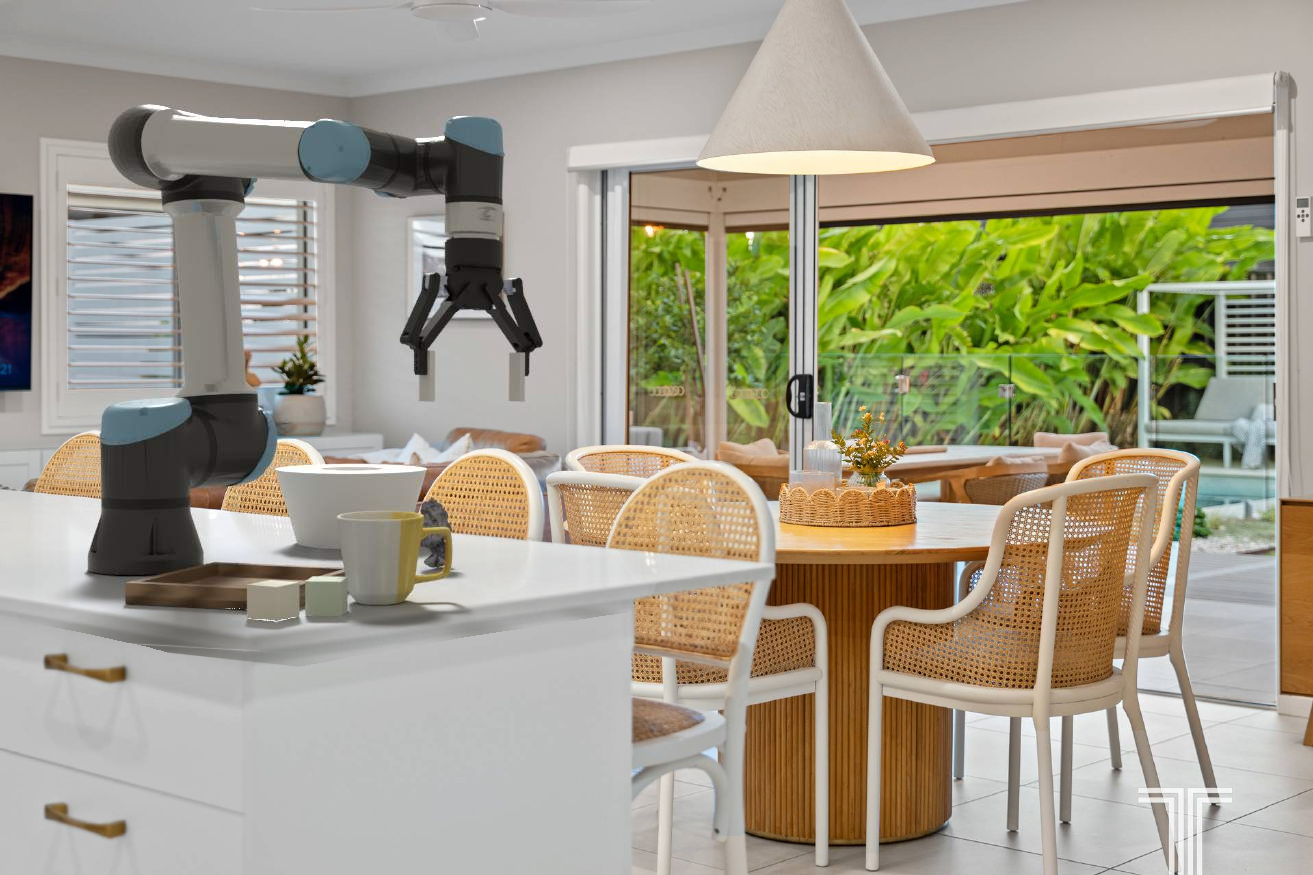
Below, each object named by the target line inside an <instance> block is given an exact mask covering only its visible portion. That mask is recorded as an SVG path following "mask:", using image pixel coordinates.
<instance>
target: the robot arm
mask: <svg viewBox="0 0 1313 875" xmlns="http://www.w3.org/2000/svg"><path fill="white" fill-rule="evenodd" d="M444 127H445V128H444V132H443V134H444V135H441V136H436V137H422V138H421V137H420V138H411V137H407V136H402V135H399V134H394V133H391V132H385V131H382V130H376V129H373V128H368V127H365V126H361V125H357V124H353V123H351V122H350V121H348V120H339V119H330V118H329V119H328V118H322V119H319V120H317V121H314V122H313V121H312V122H311V121H290V120H285V121H284V120H267V119H265V120H263V119H238V118H219V117H216V116H213V115H209V116H208V115H202V114H198V113H192V112H189V111H184V110H179V109H174V108H169V107H166V106H161V105H156V104H141V105H135V106H134V107H130V108H128V109H126V110H124V111H123V112H121V114H119V115H118V117H117V116H116V118H115V120H114V122H112V125H111V127H110V129H109V131H108V132H109V133H108V137H107V150H108V154H109V157H110V160H111V162H112V164H113V165H114V167H115V169H116V170H117V171H118V172H119V173H120V175H122V176H123V177H124V178H125V179H127V180H128V181H129V182H131V183H133V184H135V185H138V186H140V187H143V188H147V189H152V190H156V191H160V194H161V195H160V196H161V209H162V211H163V212H164V213H165V214H167V215H168V216H169V217H170V218H172V220H173V225H174V238H175V239H174V240H175V253H176V254H175V255H176V269H177V270H176V271H177V284H178V286H177V288H178V300H179V312H180V313H179V315H180V326H181V327H180V328H181V331H180V332H181V344H182V357H183V358H182V359H183V374H184V385H183V387H181V389H180V390H179V391H178V392H177V393H176V395H174V397H154V398H148V399H144V398H142V399H135V400H128V401H122V402H121V401H120V402H117V403H114V404H111V405H109V406H108V407H106V408H105V409H104V411H103V412H102V416H101V422H100V423H101V425H100V426H101V428H100V433H99V442H100V479H101V480H100V491H101V492H100V494H101V496H100V499H101V501H100V502H101V503H100V504H101V505H100V509H101V510H100V517H99V520H98V523H97V526H96V529H95V532H94V534H93V537H92V540H91V543H90V544H91V545H90V547H89V550H88V553H87V571H89V572H92V573H96V574H97V573H98V574H104V575H105V574H107V575H119V576H120V575H124V576H126V575H127V576H128V575H131V576H132V575H133V576H135V575H136V576H137V575H138V576H141V575H161V574H165V573H169V572H174V571H178V570H182V569H187V568H191V567H195V566H199V565H204V564H205V563H204V562H205V558H204V554H205V552H204V549H203V546H202V542H201V539H200V536H199V533H198V530H197V528H196V524H195V521H194V519H193V515H192V512H191V489H202V488H205V489H206V488H217V487H218V488H219V487H223V488H227V487H237V486H239V485H243V484H248V483H251V482H253V481H256V480H257V479H259V478H261V476H262V475H264V473H265V472H266V470H267V469H268V468H270V466H271V465H272V463H273V460H274V458H275V456H276V452H277V448H278V430H277V427H276V424H275V421H274V420H273V418H271V417H270V414H269V413H268V411H266V410H265V409H263V408H261V407H260V406H259V396H258V391H257V390H256V389H254V388H253V387H252V386H251V385H250V384H249V383H248V381H247V376H246V375H247V374H246V364H245V362H246V361H245V360H246V359H245V358H246V357H245V348H244V347H245V344H244V331H243V315H242V300H241V285H240V270H239V256H238V241H237V239H238V238H237V229H236V228H237V224H236V220H237V218H238V216H239V215H240V214H241V213H242V212H243V211H244V210H245V209H246V205H245V204H246V203H245V200H246V198H247V197H248V196H249V195H250V194H251V193H253V192H252V191H254V189H255V186H254V183H255V184H256V183H257V182H258V180H259V179H260V180H261V179H262V180H277V181H278V180H279V181H292V182H307V183H309V182H310V183H319V184H331V185H345V186H353V187H359V188H364V189H365V188H366V189H370V190H372V191H373V192H374V193H375V194H376V195H377V196H379V197H382V198H397V199H401V200H402V199H407V198H412V197H413V198H414V197H424V196H425V197H426V196H435V195H436V196H437V195H444V234H445V235H446V236H448V238H447V239H446V240H445V242H444V266H445V274H444V275H442V274H440V273H439V272H429V273H427V272H426V273H424V274H423V276H422V283H421V291H420V293H419V295H418V297H417V300H416V302H415V303H414V306H413V308H412V310H411V313H410V315H409V317H408V319H407V321H406V323H405V325H404V328H403V331H402V332H401V333H400V336H399V342H400V344H402V345H405V346H408V347H409V349H410V350H412V351H413V372H414V375H415V376H418V378H419V380H418V383H419V384H418V385H419V386H418V387H419V388H418V391H419V392H418V394H419V395H418V396H419V397H418V398H419V399H418V401H419V402H429V403H430V402H436V350H433V349H432V350H431V349H430V348H431V346H432V345H433V343H434V342H435V341H436V339H437V338H438V336H439V335H440V334H441V333H442V332H443V330H444V329H445V327H446V326H447V325H448V324H449V322H450V321H451V320H452V318H453V317H454V316H455V315H456V313H457V312H459V311H468V310H471V311H472V310H473V311H485V312H486V313H487V314H489V315H490V317H491V318H492V319H493V321H494V322H495V324H496V325H497V327H498V328H499V330H500V331H501V332H502V334H503V335H504V337H505V338H506V339H507V341H508V343H509V344H510V346H511V347H512V348H513V350H514V351H515V352H509V354H508V358H509V359H508V361H509V362H508V366H509V367H508V373H509V374H508V402H519V403H521V402H525V401H526V400H525V399H526V398H525V395H526V394H525V393H526V392H525V391H526V381H525V380H526V378H525V377H529V375H530V354H531V353H533V352H534V351H535V350H536V349H538V348H541V347H543V344H544V342H543V339H542V337H541V334H540V331H539V330H538V326H537V324H536V322H535V321H536V320H535V319H534V317H533V314H532V311H531V309H530V307H529V304H528V302H527V299H526V297H525V294H524V283H523V280H522V278H520V277H509V278H507V279H503V277H502V268H503V263H504V262H503V258H504V257H503V252H504V250H503V249H504V248H503V245H504V243H503V242H502V241H501V240H499V238H500V237H501V236H503V227H504V226H503V224H504V223H503V220H504V219H503V216H504V215H503V212H504V211H503V210H504V209H503V208H504V206H503V205H504V203H503V201H504V199H503V187H504V186H503V185H504V184H503V183H504V182H503V178H504V161H505V160H504V159H505V158H504V157H505V156H506V155H505V152H504V138H503V137H504V136H503V135H504V134H503V127H502V125H501V123H500V122H499V121H497V120H496V119H493V118H491V117H485V116H475V115H474V116H473V115H462V116H461V115H460V116H455V117H450V118H448V119H447V121H446V122H445V126H444ZM443 288H444V289H445V291H446V292H447V295H446V296H445V297H444V299H443V300H442V301H441V302H440V304H439V308H438V309H437V310H436V311H435V312H434V314H433V315H432V317H431V318H430V319H429V320H428V318H429V316H430V314H431V311H432V309H433V306H434V305H435V302H436V300H437V298H438V295H439V292H440V291H441V290H442V289H443ZM501 292H503V293H504V295H506V299H507V302H508V304H509V307H510V310H511V312H512V315H513V316H514V318H513V317H512V315H511V314H510V312H509V310H508V309H507V305H506V304H505V302H504V300H502V297H501V296H500V294H501ZM514 319H515V320H514ZM427 320H428V322H427ZM426 322H427V323H426ZM429 349H430V350H429Z"/></svg>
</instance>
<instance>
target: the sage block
mask: <svg viewBox="0 0 1313 875" xmlns="http://www.w3.org/2000/svg"><path fill="white" fill-rule="evenodd" d="M348 594H349V592H348V577H322V576H312V577H311V578H310V579H308V580H307V581H305V605H304V606H305V610H304V612H305V613H304V614H305V615H313V616H312V617H342V616H343V615H345V613H346V612H348V611H347V610H348V607H349V606H348V605H349V604H348V601H349V600H348V596H349V595H348ZM316 615H317V616H316Z"/></svg>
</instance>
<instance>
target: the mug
mask: <svg viewBox="0 0 1313 875" xmlns="http://www.w3.org/2000/svg"><path fill="white" fill-rule="evenodd" d="M423 522H424V515H422V514H421V513H419V512H414V513H413V512H402V511H363V512H353V513H345V514H340V515H338V516H337V526H338V533H339V539H340V546H341V549H340V551H341V552H340V553H341V556H342V557H341V558H342V563H343V568H344V572H345V577H348V594H349V595H350V596H351V598H352V599H353V600H354V601H355V603H357V604H359V605H366V606H387V605H396V604H400V603H404V602H405V600H406V599H407V598H408V597H409V595H411V593H412V591H413V590H414V586H415V585H418V584H423V583H428V582H429V583H430V582H435V581H439V580H444V579H445V578H447V577H449V575H450V573H451V569H452V566H453V565H452V564H453V537H452V532H450V530H449V528H447V527H432V528H423ZM431 534H444V536H445V546H446V555H445V565H444V566H443V569H442V570H441V571H440V572H437V573H432V574H430V573H429V574H418V575H417V567H418V561H419V556H420V555H419V554H420V553H419V552H420V548H421V546H420V542H421V540H422V539H424V538H425V537H426V536H428V535H431Z"/></svg>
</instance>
